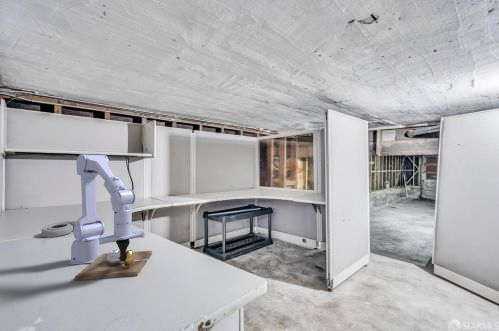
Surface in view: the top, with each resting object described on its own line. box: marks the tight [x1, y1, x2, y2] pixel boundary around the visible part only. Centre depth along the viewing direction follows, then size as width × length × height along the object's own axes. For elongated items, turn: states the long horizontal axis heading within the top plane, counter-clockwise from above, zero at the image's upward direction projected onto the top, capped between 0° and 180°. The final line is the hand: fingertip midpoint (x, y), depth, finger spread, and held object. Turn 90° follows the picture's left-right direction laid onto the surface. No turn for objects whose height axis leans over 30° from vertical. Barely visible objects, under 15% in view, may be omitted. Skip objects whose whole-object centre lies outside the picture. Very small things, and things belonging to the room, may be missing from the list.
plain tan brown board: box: [74, 250, 153, 281], centre depth 94 cm, size 21×22×2 cm
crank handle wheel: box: [107, 248, 133, 267], centre depth 92 cm, size 14×8×6 cm, turn 50°
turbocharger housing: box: [41, 220, 76, 238], centre depth 141 cm, size 17×6×15 cm
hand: (122, 260), depth 87 cm, fingers closed
